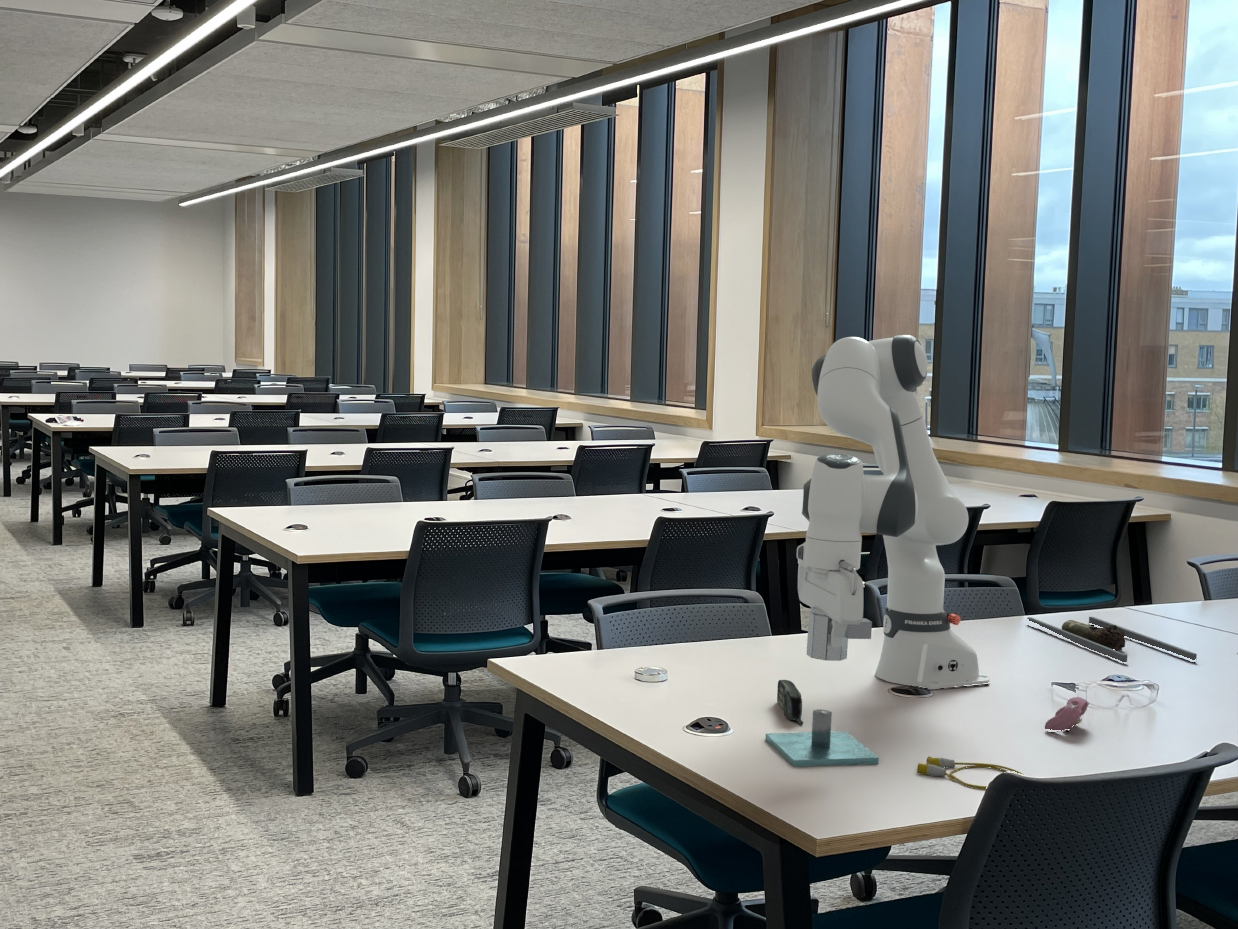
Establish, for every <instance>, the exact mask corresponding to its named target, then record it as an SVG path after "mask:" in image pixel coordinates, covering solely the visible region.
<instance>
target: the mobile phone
mask: <svg viewBox="0 0 1238 929" xmlns="http://www.w3.org/2000/svg"><path fill="white" fill-rule="evenodd" d="M776 695H777V696H776V701H777V704H778V705H779V707H780V709H781V710H782V712H783V716H784V717H785V718H786V719H788V720H791V721H796V722H797V723H798V724H799V725H800V726H803V725H804V722H803V720H802V715H803V714H802V713H803V699H802V693H801V692H800V691H799V689H798V688H797V686H796V685H795V683H794V682H792V681H791V680H787V679H779V680H778V681H777V693H776Z"/></svg>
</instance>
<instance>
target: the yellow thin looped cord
mask: <svg viewBox="0 0 1238 929" xmlns="http://www.w3.org/2000/svg"><path fill="white" fill-rule="evenodd" d="M957 765H958V766H961V765H962V766H961V767H958V768H955V766H957ZM944 767H945V768H944ZM946 767H952V768H955V769H952V770H951V771H950V772H949V773H947V768H946ZM966 767H973V768H984V767H991V768H990V769H993V768H994V769H993V770H997V769H998V771H1002V772H1004V771H1010V772H1013V771H1015V772H1017V773H1016V774H1018V773H1020V774H1023V773H1022V772H1020V771H1018V770H1016V769H1013V768H1011V767H1008V766H1003V765H999V764H993V763H982V762H955V760H954V759H949V758H945V757H931V756H928V757H927V758H926V763H921V762H920V763H919V762H918V763H917V769H916V772H917V773H916V774H918V773H922V775H925V776H929V775H933V776H932V777H946V776H947V778H948V779H949V780H950V781H951V780H952V782H953V781H955V779H956V782H958V783H960V784H962V785H963V784H964V785H963V786H965V785H967V786H970V787H973V788H972V789H975V788H978V789H977V790H982V789H983V791H986V790H985V789H986V787H987V785H976V784H971V783H967V782H964V781H963V780H961V779H959V778H958V777H957V776H955V775H953V774H954V773H956V772H958V771H960V769H961V770H964V769H963V768H965V769H967V768H966ZM1000 769H1001V770H1000ZM957 770H958V771H957ZM955 771H956V772H955ZM953 772H954V773H953ZM1015 772H1014V773H1015ZM967 786H966V787H967ZM970 787H969V788H970Z"/></svg>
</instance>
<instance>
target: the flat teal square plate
mask: <svg viewBox="0 0 1238 929" xmlns="http://www.w3.org/2000/svg"><path fill="white" fill-rule="evenodd" d="M832 715H833V712H832V711H830V710H828V709H820V708H818V709H813V710H812V721H811V722H812V723H811V725H812V726H811V731H808V732H807V731H805V732H778V733H777V732H773V733H765V740H766V741H767V742H768V743H769V745H771V746H772V747H773V749H775V750H776V751H777V752H778V753H779V754H780V755H781V756H782V757H783V758H784V759H785V760H786V761H788V763H789V764H791V765H792V767H817V766H818V767H821V766H823V767H825V766H852V765H878V764H879V759H880V757H879V756H878V755H876V754H875V753H874V752H873V751H871V750H870V749H869V748H868V747H866V746H865V745H864V744H862V743H861V742H860V741H858V740H857V739H856V738H855V737H854V736H852V735H851V734H849V733H848V732H847V731H845V730H843V731H841V730H840V731H838V730H837V731H832Z"/></svg>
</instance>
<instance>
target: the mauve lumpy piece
mask: <svg viewBox="0 0 1238 929" xmlns="http://www.w3.org/2000/svg"><path fill="white" fill-rule="evenodd" d="M1089 705H1090V702H1088V700H1087V699H1084V698H1082V697H1079V696H1077V697H1076V696H1074V697H1071V698H1069V699H1068V700H1067V701H1066V705H1064V706H1063V707H1061V708H1059V709H1058V710H1057V711H1056V712H1055V715H1054V716H1053V717H1051V718H1050V719H1048V720H1047V721H1046V722H1045V724H1044V729H1050V730H1051V729H1052V730H1061V732H1063V731H1065V729H1072V728H1071V727H1072V726H1073V725H1074V726H1076V725H1075V724H1078V725H1079V724H1080V723H1082V721H1083V717H1082V716H1083V715H1084V714H1085V713H1086V712H1087V711H1088V710H1087V709H1088V707H1089ZM1062 730H1063V731H1062Z"/></svg>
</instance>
